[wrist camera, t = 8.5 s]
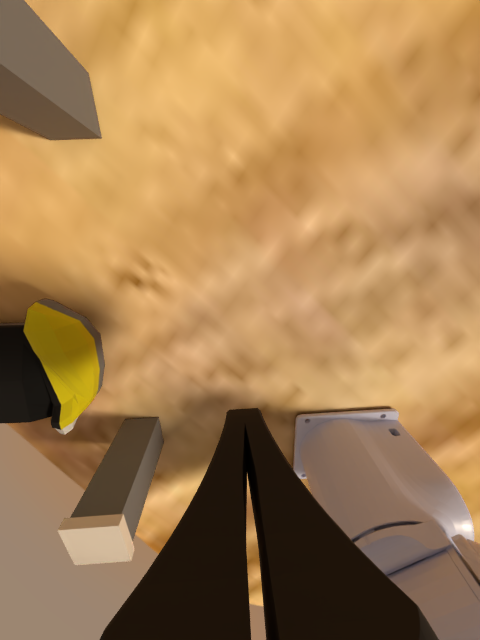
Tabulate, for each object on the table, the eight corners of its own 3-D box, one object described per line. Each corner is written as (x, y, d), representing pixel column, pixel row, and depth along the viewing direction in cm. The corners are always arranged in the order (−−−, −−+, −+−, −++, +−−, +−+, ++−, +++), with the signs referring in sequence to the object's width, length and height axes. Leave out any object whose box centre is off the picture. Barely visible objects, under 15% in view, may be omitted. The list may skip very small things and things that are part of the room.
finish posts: (90, 68, 13) (-134, -198, 5) (166, 443, 23) (131, 560, 15) (28, 70, 13) (-304, -198, 5) (130, 446, 22) (74, 565, 14)
